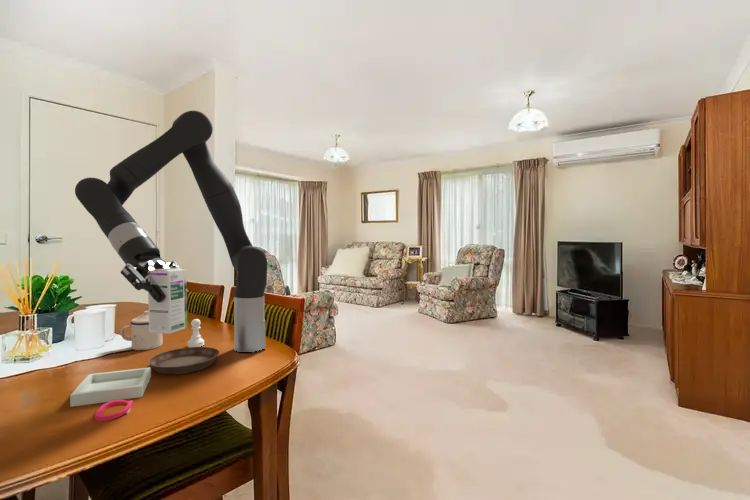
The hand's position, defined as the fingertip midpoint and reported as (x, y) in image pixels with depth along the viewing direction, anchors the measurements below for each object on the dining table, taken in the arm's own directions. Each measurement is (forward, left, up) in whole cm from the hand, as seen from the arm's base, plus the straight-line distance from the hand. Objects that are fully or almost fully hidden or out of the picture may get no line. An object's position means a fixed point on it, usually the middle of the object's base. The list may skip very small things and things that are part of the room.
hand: (174, 297), depth 86 cm
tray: (+13, -6, -22) cm, 26 cm away
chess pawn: (-3, -38, -22) cm, 44 cm away
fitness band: (+11, +7, -23) cm, 26 cm away
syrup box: (+1, -1, -8) cm, 8 cm away
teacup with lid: (+13, -43, -22) cm, 50 cm away
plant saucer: (-1, -19, -23) cm, 29 cm away
